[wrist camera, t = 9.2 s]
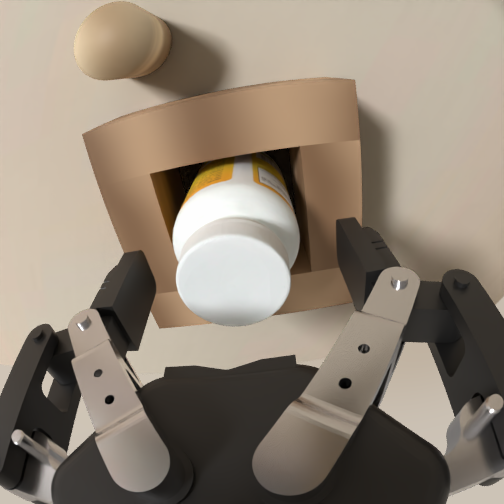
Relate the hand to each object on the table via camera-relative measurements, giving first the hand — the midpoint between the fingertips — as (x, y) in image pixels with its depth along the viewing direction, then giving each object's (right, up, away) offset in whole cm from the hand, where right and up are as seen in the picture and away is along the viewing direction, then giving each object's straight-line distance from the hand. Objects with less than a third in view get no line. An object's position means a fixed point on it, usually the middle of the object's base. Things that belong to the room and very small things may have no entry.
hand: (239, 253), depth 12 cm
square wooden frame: (0, +4, +6) cm, 7 cm away
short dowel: (-6, +12, +1) cm, 13 cm away
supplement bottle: (0, +4, +6) cm, 8 cm away
